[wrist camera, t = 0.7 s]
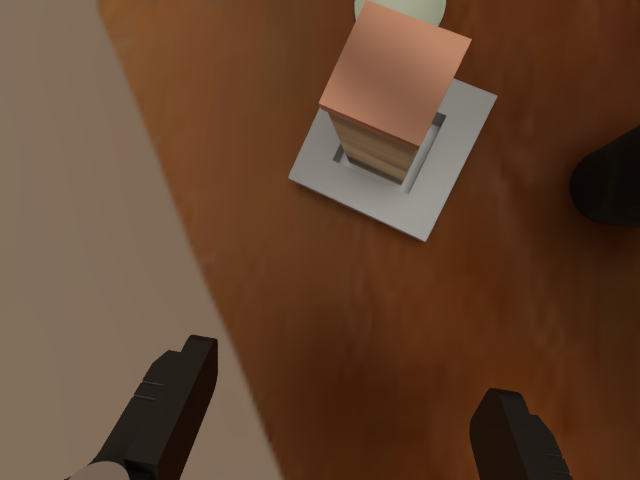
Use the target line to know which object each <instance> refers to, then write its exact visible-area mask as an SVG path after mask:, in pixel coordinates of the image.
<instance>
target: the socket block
mask: <svg viewBox="0 0 640 480" xmlns="http://www.w3.org/2000/svg"><path fill="white" fill-rule="evenodd" d="M496 98H497V95H494V94H492V93H489V92H487V91H484V90H482V89H479V88H476V87H474V86H471V85H469V84H466V83H464V82H461V81H459V80H456V79H454V78H453V80H452V82H451V84H450V86H449V88H448V90H447V92H446V94H445V96H444V98H443V101H442V103H441V105H440V107H439V109H438V111H437V113H436V115H435V117H434V119H433V121H432V123H431V125H430V128H429V130H428V132H427V134H426V136H425V138H424V140H423V142H422V144H421V146H420V148H419V150H418V152H417V154H416V156H415V159H414V161H413V163H412V165H411V167H410V169H409V171H408V173H407V175H406V177H405V179H404V181H403V183H402V186H401V185H399V184H396V183H394V182H392V181H390V180H387V179H385V178H383V177H381V176H378V175H376V174H374V173H372V172H369V171H367V170H365V169H363V168H360V167H358V166H356V165H354V164H351V163H349V161H348V158H347V156H346V154H345V151H344V149H343V147H342V144H341V142H340V140H339V137H338V135H337V133H336V130H335V128H334V126H333V123H332V121H331V119H330V116H329V114H328V112H326V111H324V110H322V109H321V107H320V109H319V111H318V113H317V115H316V117H315V120H314V122H313V124H312V126H311V128H310V131H309V133H308V135H307V137H306V139H305V142H304V144H303V146H302V148H301V150H300V152H299V155H298V157H297V159H296V161H295V163H294V166H293V168H292V170H291V172H290V174H289V177H288V178H289V179H290V180H292V181H294V182H295V183H297V184H299V185H301V186H303V187H305V188H307V189H309V190H311V191H314V192H316V193H318V194H320V195H322V196H324V197H327V198H329V199H331V200H333V201H335V202H337V203H339V204H342V205H344V206H346V207H348V208H350V209H352V210H355V211H357V212H359V213H361V214H363V215H365V216H368V217H370V218H372V219H374V220H376V221H378V222H380V223H383V224H385V225H387V226H389V227H391V228H393V229H396V230H398V231H400V232H402V233H404V234H406V235H408V236H411V237H413V238H415V239H417V240H419V241H424V242H426V240H427V238H428V236H429V234H430V232H431V230H432V228H433V226H434V224H435V222H436V220H437V218H438V216H439V214H440V212H441V210H442V208H443V206H444V204H445V202H446V200H447V198H448V196H449V194H450V191H451V189H452V187H453V185H454V183H455V181H456V179H457V177H458V175H459V173H460V171H461V169H462V167H463V165H464V163H465V161H466V159H467V157H468V155H469V153H470V151H471V149H472V147H473V145H474V143H475V141H476V139H477V137H478V135H479V133H480V131H481V129H482V127H483V125H484V123H485V121H486V118H487V116H488V114H489V112H490V110H491V108H492V106H493V104H494V102H495V100H496Z"/></svg>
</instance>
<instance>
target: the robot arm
mask: <svg viewBox="0 0 640 480" xmlns="http://www.w3.org/2000/svg"><path fill="white" fill-rule="evenodd" d="M217 375H218V341H217V339H215V338H209V337H203V336H197V335H190V337H189V338H188V339H187V341H186V343H185V345H184V347H183V349H182V351H181V352H176V351H171V350H168V351H167V352H165V353H164V354H163V355H162V356H161V357H159V358H158V359H157V360H156V361H155V362H153V363H152V365H151V367H150V368H149V370H148V372H147V373H146V375H145V377H144V378H143V381H142V383H140V385H139V387H138V388H137V390H136V392H135V393H134V397H133V398H131V400H130V402H129V403H128V405H127V407H126V408H125V410H124V412H123V413H122V415H121V417H120V419H119V420H118V422H117V424H116V425H115V427H114V429H113V430H112V432H111V433H110V435H109V437H108V439H107V440H106V442H105V443H104V445H103V447H102V449H101V450H100V452H99V453H98V454H97V456H96V457H95V458H94V459H93V461H92V462H91V463H89V464H88V465H87V466H86V467H84V468H82V469H81V470H79V471H78V472H76V473H75V474H74V475H73V476H71V477H69V478H67V479H64V480H179V479H180V477H181V474H182V472H183V469H184V467H185V464H186V462H187V459H188V456H189V454H190V451H191V449H192V446H193V444H194V441H195V439H196V436H197V434H198V431H199V428H200V426H201V423H202V421H203V418H204V416H205V413H206V411H207V408H208V405H209V403H210V400H211V398H212V395H213V392H214V389H215V385H216V381H217ZM470 441H471V445H472V449H473V453H474V457H475V461H476V465H477V469H478V473H479V477H480V480H573V478H572V476H570V475H569V472H570V471H569V469H568V467H567V465H566V462H565V460H564V459H562V454H561V451H560V449H559V447H558V445H557V442H556V440H555V438H554V436H553V434H552V433H551V432H550V430H549V429H548V428H547V427H546V425H545V424H544V423H543V422H542V420H541V419H540V418H539V417H538V416H536V415H530V413H529V410H528V408H527V405H526V403H525V401H524V399H523V397H522V395H521V394H520V393H518V392H513V391H507V390H501V389H496V388H490V389H489V390H488V391H487V393H486V394H485V396H484V398H483V400H482V401H481V403H480V405H479V406H478V408H477V410H476V412H475V413H474V415H473V417H472V419H471V422H470Z"/></svg>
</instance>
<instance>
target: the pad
mask: <svg viewBox="0 0 640 480" xmlns="http://www.w3.org/2000/svg"><path fill="white" fill-rule="evenodd" d="M365 1H366V0H355V5H354V6H355V18H356V20H357V18H358V16H359V14H360V12H361V9H362V7H363V5H364V3H365ZM368 1H371V2H374V3H376V4H379V5H382V6H384V7H387V8H390V9H392V10H395V11H398V12H400V13H403V14H406V15H408V16H411V17H414V18H416V19H419V20H422V21H424V22H427V23H430V24H432V25H435V26H438V27H439V25H440V23H441V20H442V18H443V14H444V11H445V6H446V0H368Z"/></svg>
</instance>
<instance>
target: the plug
mask: <svg viewBox="0 0 640 480" xmlns="http://www.w3.org/2000/svg"><path fill="white" fill-rule="evenodd" d="M471 40H472V39H469V38H467V37H464V36H461V35H459V34H456V33H453V32H451V31H448V30H445V29H443V28H440V27H438V26H435V25H432V24H430V23H427V22H424V21H422V20H419V19H416V18H414V17H411V16H408V15H406V14H403V13H400V12H398V11H395V10H392V9H390V8H387V7H384V6H382V5H379V4H376V3H374V2H371V1H368V0H366V1H365V3H364V5H363V7H362V9H361V12H360V14H359V16H358V18H357V20H356V23H355V25H354V27H353V29H352V31H351V33H350V36H349V38H348V40H347V42H346V44H345V47H344V49H343V51H342V53H341V55H340V58H339V60H338V62H337V64H336V66H335V69H334V71H333V73H332V75H331V77H330V80H329V82H328V84H327V86H326V88H325V90H324V93H323V95H322V97H321V99H320V101H319V105H320V107H321V109H322V110H324V111H326V112H328V114H329V116H330V119H331V121H332V123H333V126H334V128H335V130H336V133H337V135H338V137H339V140H340V142H341V144H342V147H343V149H344V151H345V154H346V156H347V158H348V161H349V163H351V164H354V165H356V166H358V167H360V168H363V169H365V170H367V171H369V172H372V173H374V174H376V175H378V176H381V177H383V178H385V179H387V180H390V181H392V182H394V183H396V184H399V185H401V186H402V183H403V181H404V179H405V177H406V175H407V173H408V171H409V169H410V167H411V165H412V163H413V161H414V159H415V156H416V154H417V152H418V150H419V148H420V146H421V144H422V142H423V140H424V138H425V136H426V134H427V132H428V130H429V128H430V125H431V123H432V121H433V119H434V117H435V115H436V113H437V111H438V109H439V107H440V105H441V103H442V101H443V98H444V96H445V94H446V92H447V90H448V88H449V86H450V84H451V82H452V80H453V78H454V76H455V74H456V72H457V69H458V67H459V65H460V63H461V61H462V59H463V57H464V55H465V53H466V51H467V49H468V46H469V44H470V42H471Z"/></svg>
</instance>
